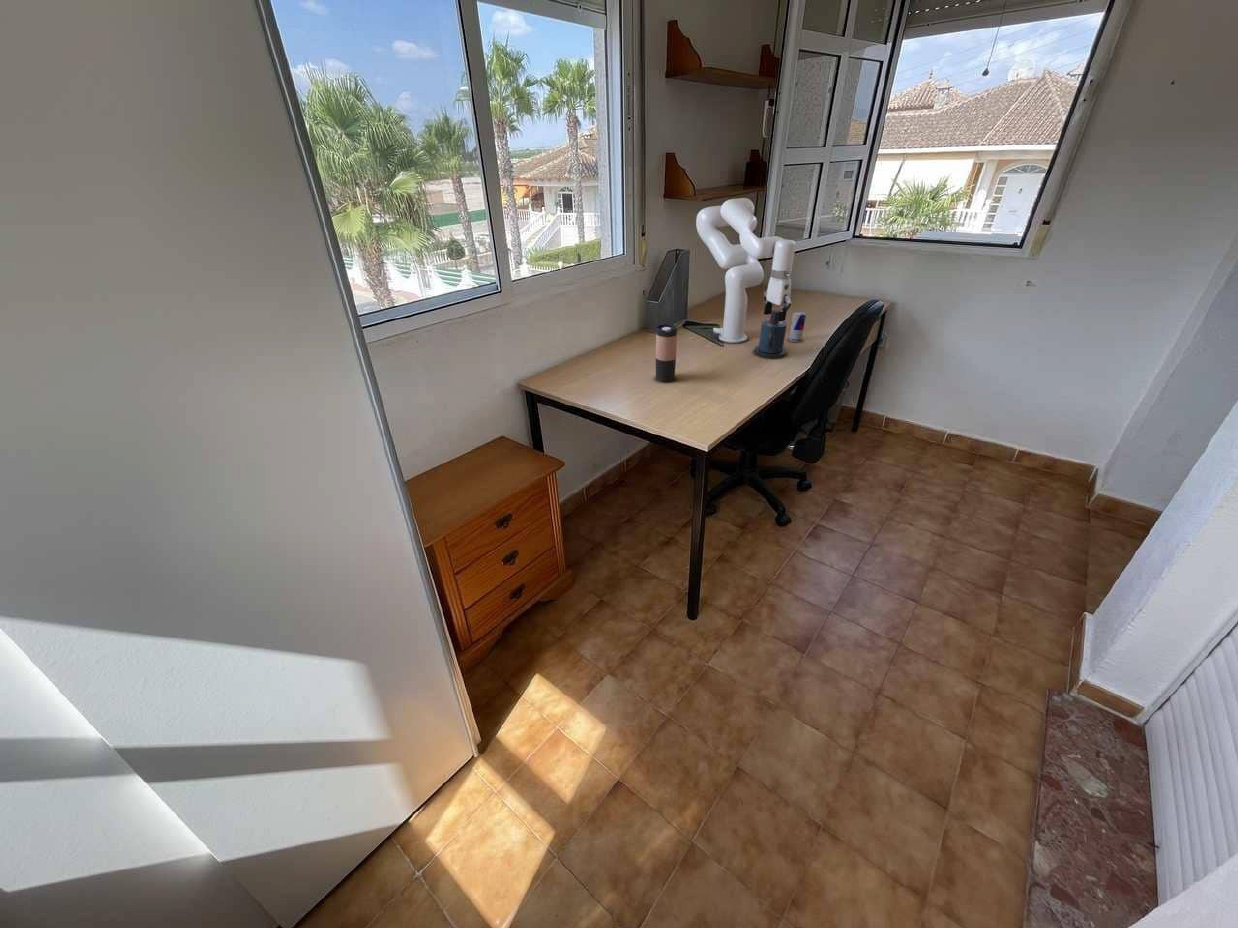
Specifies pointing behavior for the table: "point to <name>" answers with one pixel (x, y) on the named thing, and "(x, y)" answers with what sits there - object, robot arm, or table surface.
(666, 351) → the travel mug
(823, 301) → the table surface
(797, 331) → the energy drink
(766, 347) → the kettle
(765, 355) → the base
